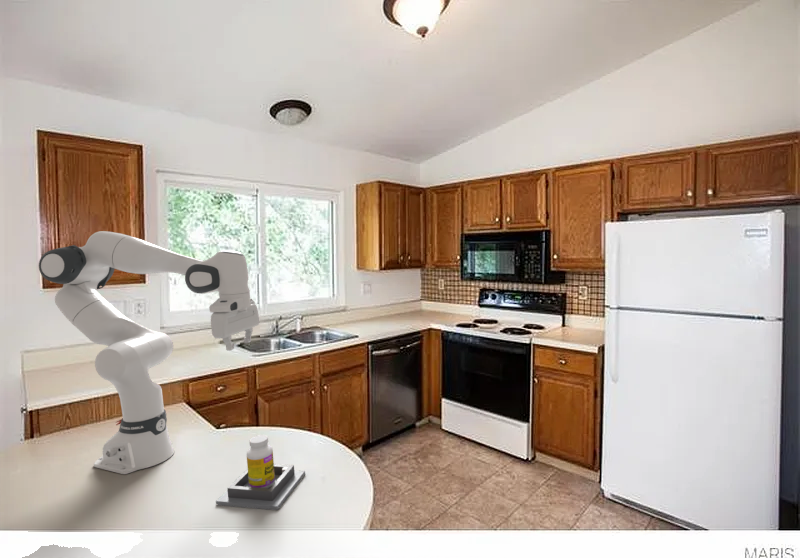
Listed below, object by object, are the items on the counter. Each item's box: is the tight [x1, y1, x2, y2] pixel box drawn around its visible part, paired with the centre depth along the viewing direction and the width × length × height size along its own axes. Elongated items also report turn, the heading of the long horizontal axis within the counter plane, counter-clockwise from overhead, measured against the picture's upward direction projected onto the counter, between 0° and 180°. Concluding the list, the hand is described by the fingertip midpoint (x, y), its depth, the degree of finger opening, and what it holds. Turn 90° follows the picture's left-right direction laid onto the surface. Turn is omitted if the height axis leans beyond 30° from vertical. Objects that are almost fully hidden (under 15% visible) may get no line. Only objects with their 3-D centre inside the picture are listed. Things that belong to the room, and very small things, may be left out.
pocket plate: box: [215, 463, 306, 511], centre depth 112 cm, size 17×16×4 cm
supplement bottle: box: [246, 434, 275, 488], centre depth 111 cm, size 7×7×13 cm
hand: (239, 346), depth 131 cm, fingers open, 8 cm apart
